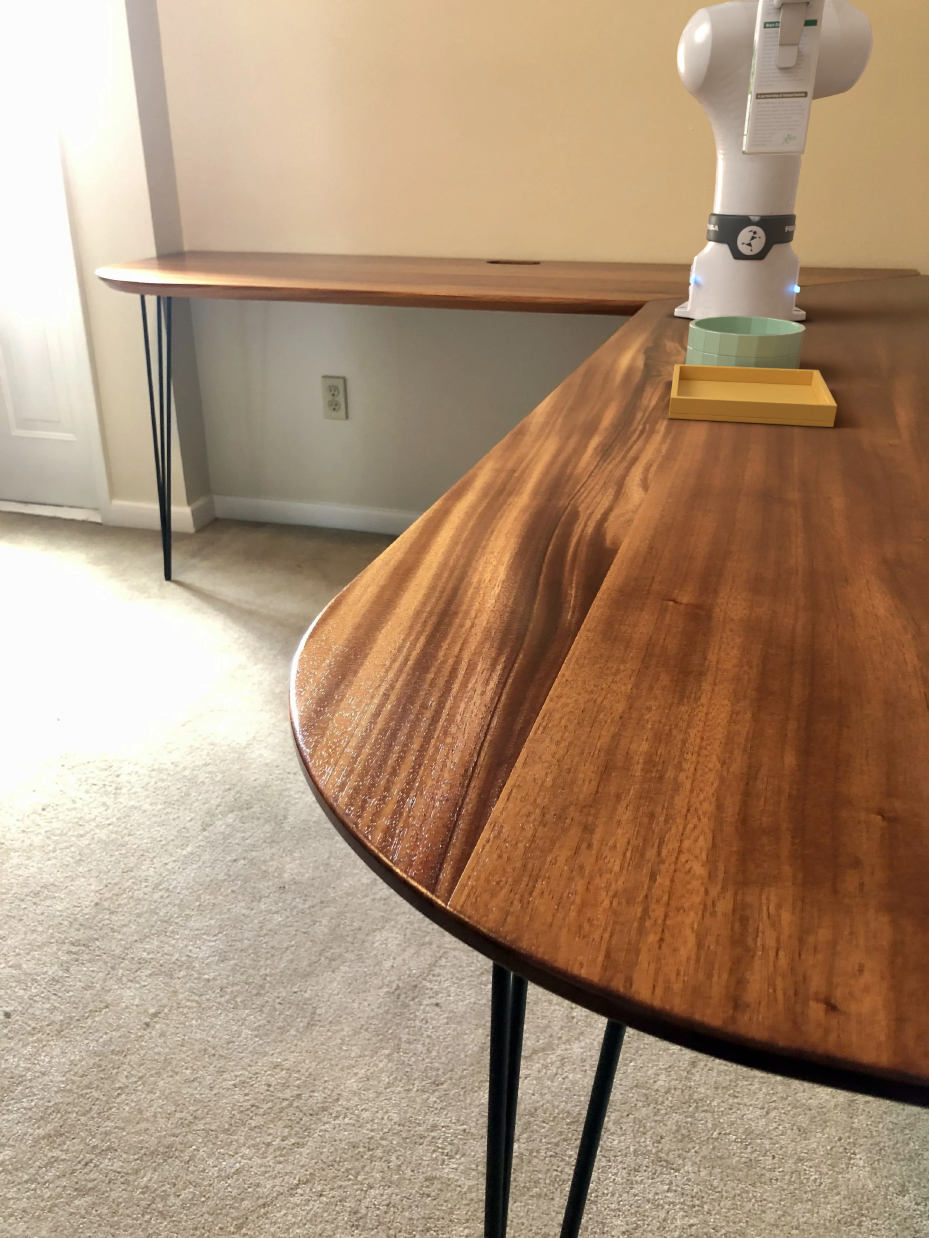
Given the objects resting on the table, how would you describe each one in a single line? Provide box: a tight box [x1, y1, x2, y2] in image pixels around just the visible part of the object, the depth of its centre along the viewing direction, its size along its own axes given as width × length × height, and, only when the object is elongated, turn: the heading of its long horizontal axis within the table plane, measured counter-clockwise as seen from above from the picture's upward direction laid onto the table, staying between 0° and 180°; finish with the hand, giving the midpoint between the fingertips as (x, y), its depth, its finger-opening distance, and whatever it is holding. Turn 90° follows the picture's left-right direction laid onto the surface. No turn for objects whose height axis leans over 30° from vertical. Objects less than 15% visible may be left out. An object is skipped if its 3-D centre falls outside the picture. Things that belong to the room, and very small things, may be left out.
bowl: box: [684, 316, 807, 369], centre depth 100 cm, size 12×12×5 cm
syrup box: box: [742, 0, 825, 155], centre depth 85 cm, size 6×6×14 cm
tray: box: [667, 363, 838, 428], centre depth 88 cm, size 15×15×2 cm
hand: (782, 71), depth 85 cm, fingers closed on syrup box, 6 cm apart
